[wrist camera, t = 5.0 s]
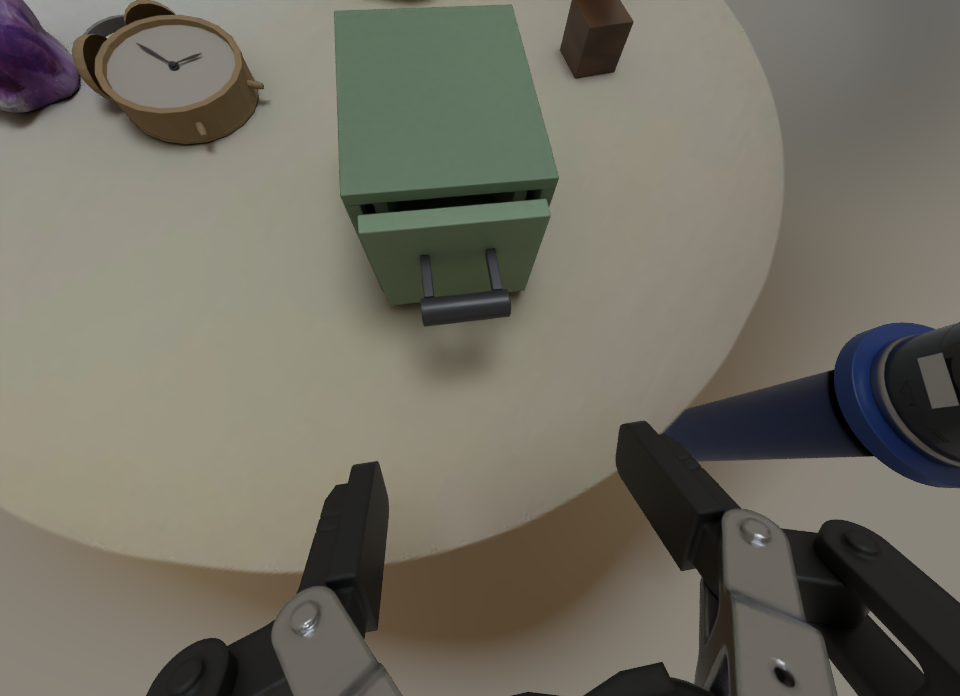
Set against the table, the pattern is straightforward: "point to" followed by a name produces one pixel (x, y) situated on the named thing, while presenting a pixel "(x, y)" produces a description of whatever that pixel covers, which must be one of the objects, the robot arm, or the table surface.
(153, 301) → the table surface
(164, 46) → the alarm clock
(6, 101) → the figurine
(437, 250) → the drawer
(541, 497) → the table surface
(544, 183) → the cabinet
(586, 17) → the block
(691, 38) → the table surface
